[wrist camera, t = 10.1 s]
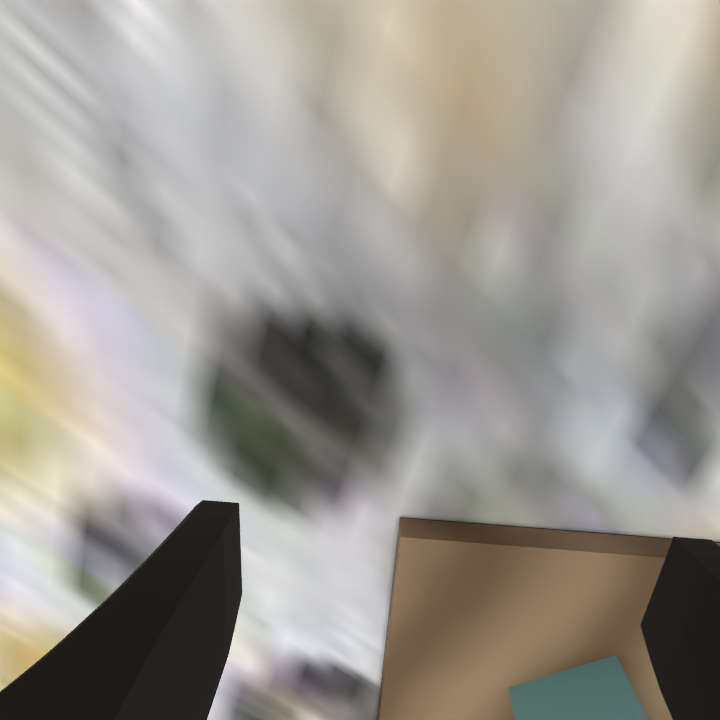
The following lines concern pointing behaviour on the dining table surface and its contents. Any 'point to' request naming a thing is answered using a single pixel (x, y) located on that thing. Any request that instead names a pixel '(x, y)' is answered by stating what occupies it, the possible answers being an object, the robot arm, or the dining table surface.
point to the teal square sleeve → (579, 695)
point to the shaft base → (511, 615)
